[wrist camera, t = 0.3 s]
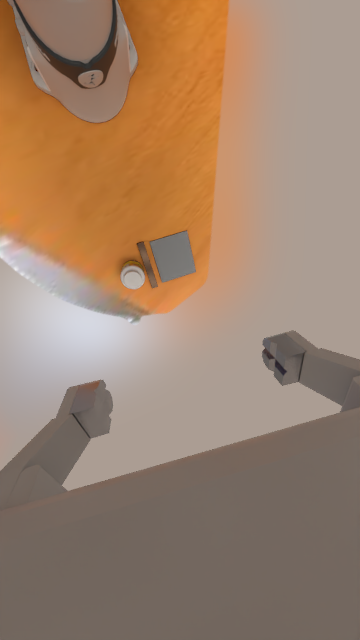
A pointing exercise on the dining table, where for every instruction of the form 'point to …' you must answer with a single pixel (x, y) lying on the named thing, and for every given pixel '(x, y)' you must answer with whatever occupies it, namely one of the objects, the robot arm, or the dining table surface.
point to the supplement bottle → (132, 275)
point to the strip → (147, 264)
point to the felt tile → (173, 256)
